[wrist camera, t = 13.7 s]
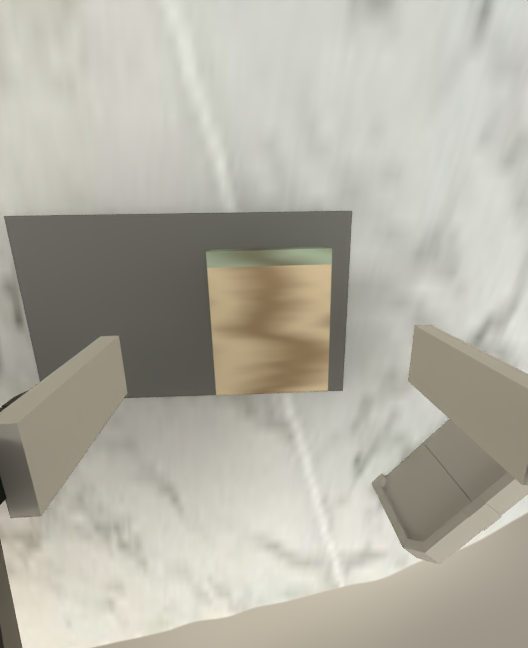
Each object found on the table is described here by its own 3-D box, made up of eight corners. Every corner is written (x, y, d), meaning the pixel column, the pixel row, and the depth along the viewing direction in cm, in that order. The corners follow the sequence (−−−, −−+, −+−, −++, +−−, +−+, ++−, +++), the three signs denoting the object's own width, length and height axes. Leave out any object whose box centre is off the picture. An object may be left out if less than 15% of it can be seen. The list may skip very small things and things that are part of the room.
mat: (48, 397, 27) (44, 400, 26) (10, 216, 23) (3, 216, 22) (340, 387, 27) (342, 390, 27) (349, 211, 24) (352, 210, 23)
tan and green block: (319, 373, 26) (322, 246, 24) (327, 390, 23) (332, 248, 21) (220, 377, 26) (211, 249, 23) (216, 395, 23) (205, 251, 21)
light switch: (371, 482, 30) (410, 565, 23) (470, 392, 28) (550, 450, 21) (383, 492, 31) (426, 576, 23) (482, 404, 29) (565, 465, 21)
